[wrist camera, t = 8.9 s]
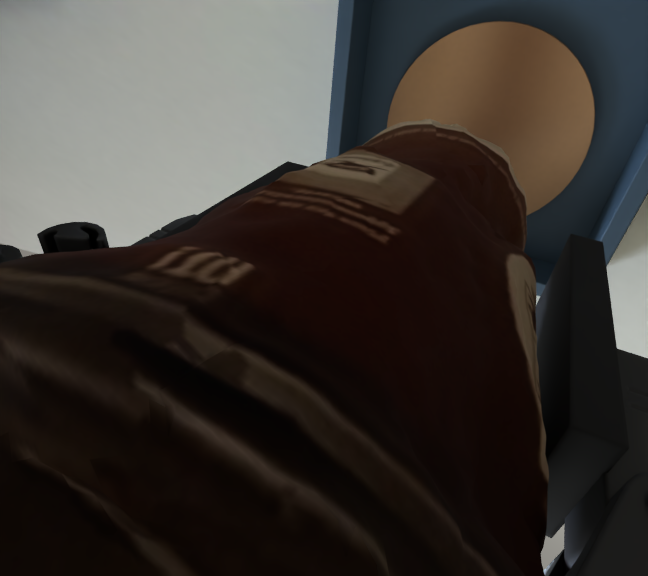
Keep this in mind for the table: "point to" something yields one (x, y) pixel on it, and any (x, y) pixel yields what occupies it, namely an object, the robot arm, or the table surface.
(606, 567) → the robot arm
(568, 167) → the coaster
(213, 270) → the coffee cup
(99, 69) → the table surface
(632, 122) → the tray
